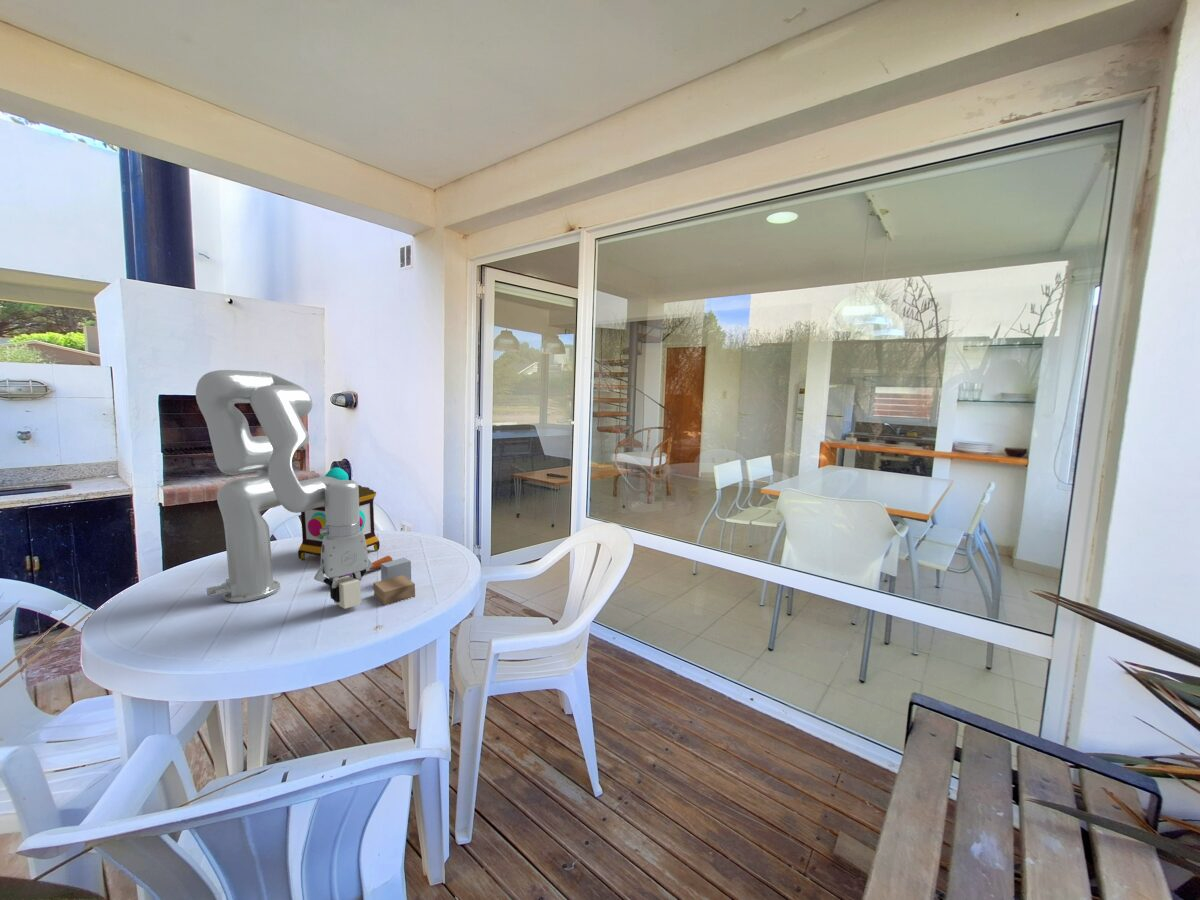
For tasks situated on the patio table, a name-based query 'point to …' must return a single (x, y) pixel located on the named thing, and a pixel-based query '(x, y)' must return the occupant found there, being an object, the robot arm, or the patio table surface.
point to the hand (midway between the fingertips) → (345, 597)
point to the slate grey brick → (396, 569)
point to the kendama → (375, 564)
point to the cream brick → (349, 592)
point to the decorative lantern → (317, 519)
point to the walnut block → (394, 589)
